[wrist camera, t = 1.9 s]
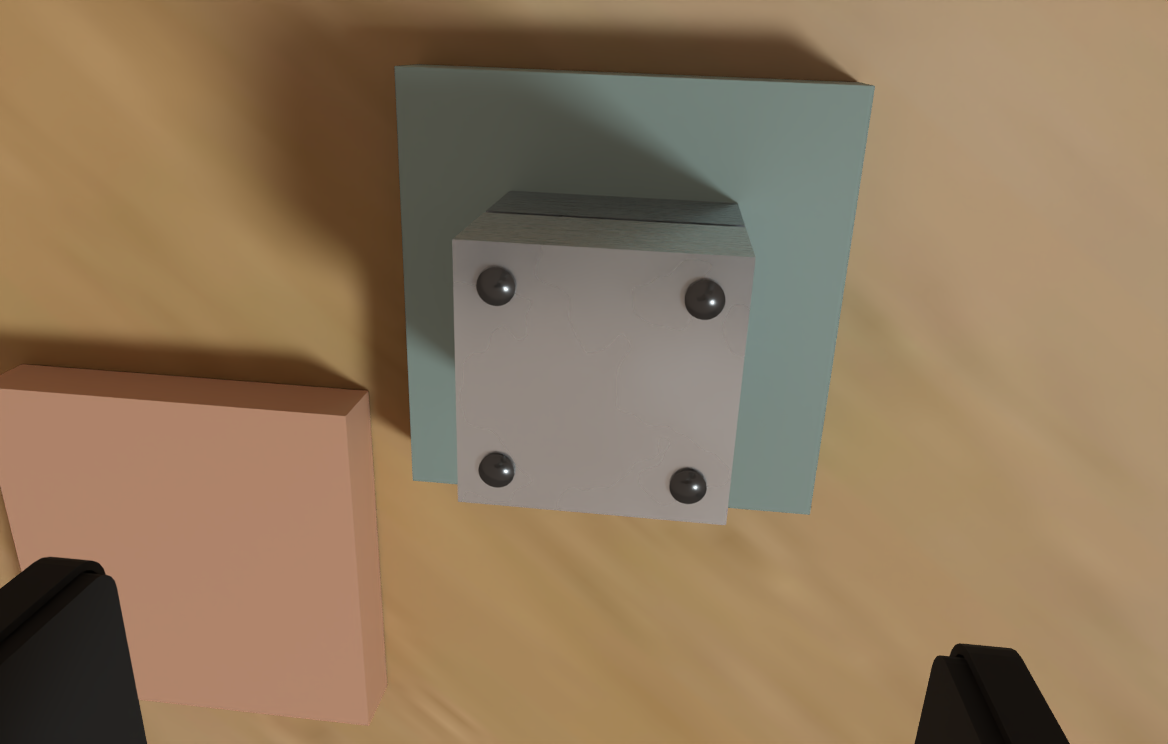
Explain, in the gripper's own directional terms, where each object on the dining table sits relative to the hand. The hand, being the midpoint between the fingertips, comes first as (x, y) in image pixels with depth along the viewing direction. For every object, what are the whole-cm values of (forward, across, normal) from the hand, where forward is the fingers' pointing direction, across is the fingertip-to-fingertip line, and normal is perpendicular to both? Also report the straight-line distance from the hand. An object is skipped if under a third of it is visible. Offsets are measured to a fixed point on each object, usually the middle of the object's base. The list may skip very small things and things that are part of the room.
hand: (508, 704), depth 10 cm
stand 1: (+17, +14, +10) cm, 24 cm away
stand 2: (+17, 0, 0) cm, 17 cm away
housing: (+15, 0, 0) cm, 15 cm away
